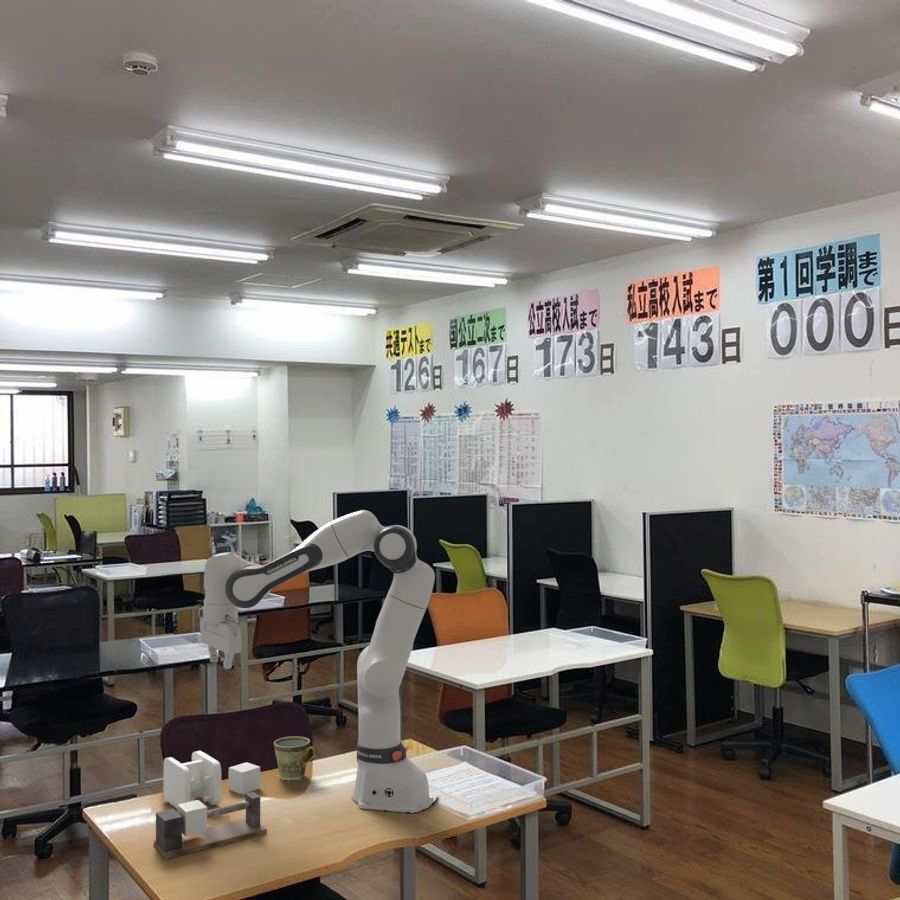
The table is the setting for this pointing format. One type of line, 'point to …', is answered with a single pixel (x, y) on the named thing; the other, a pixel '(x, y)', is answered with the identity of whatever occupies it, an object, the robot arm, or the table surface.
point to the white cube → (193, 817)
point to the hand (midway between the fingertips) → (220, 665)
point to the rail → (178, 844)
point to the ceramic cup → (292, 756)
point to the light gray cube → (244, 778)
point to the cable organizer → (192, 779)
